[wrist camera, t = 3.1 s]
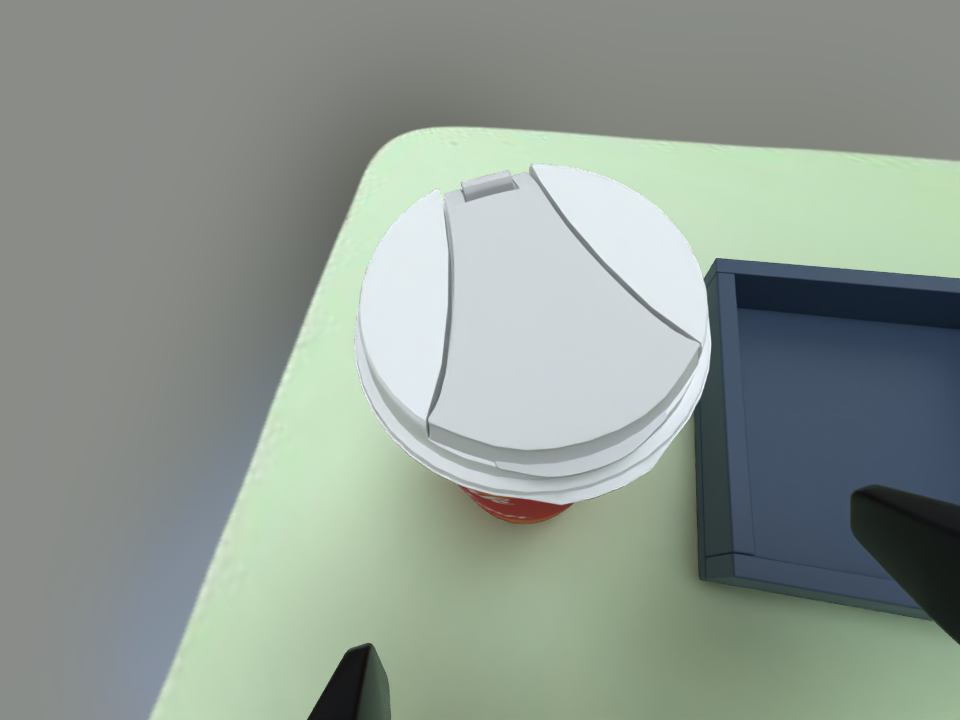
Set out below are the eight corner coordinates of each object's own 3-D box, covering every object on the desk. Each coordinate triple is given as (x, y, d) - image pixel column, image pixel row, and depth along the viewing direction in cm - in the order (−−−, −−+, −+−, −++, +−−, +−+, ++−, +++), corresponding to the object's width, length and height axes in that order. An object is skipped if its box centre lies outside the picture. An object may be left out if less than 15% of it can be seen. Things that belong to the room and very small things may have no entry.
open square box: (1089, 648, 17) (1216, 661, 14) (698, 579, 19) (734, 577, 16) (982, 327, 23) (1056, 286, 20) (690, 299, 25) (715, 257, 22)
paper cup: (424, 408, 23) (313, 195, 11) (572, 367, 24) (633, 113, 11) (463, 577, 20) (367, 554, 7) (636, 524, 20) (831, 416, 8)
